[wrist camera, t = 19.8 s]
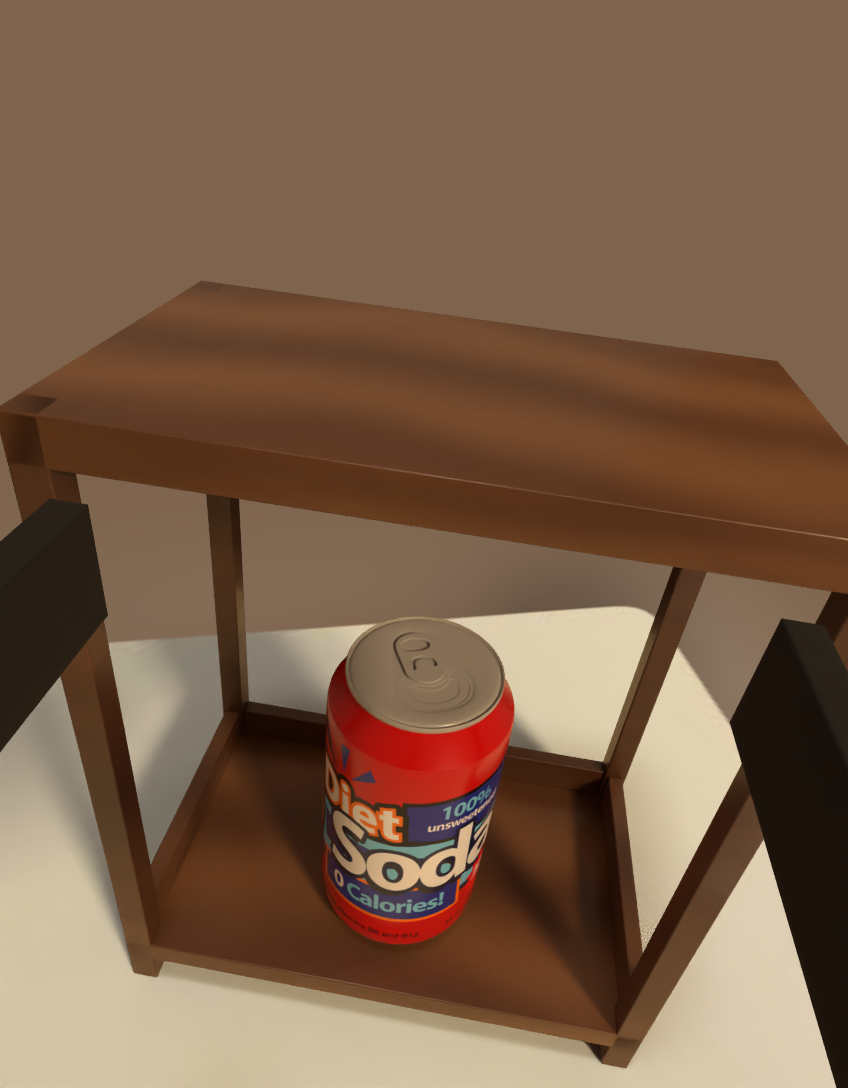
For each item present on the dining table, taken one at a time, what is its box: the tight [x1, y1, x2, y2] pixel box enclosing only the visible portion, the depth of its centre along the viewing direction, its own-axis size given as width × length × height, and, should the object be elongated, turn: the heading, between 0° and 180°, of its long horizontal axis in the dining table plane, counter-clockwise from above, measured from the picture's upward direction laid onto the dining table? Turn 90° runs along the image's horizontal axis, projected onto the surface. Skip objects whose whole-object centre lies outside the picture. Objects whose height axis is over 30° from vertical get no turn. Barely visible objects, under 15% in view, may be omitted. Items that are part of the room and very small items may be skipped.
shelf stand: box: [0, 281, 848, 1068], centre depth 32 cm, size 14×24×30 cm, turn 82°
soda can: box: [321, 616, 514, 944], centre depth 33 cm, size 8×8×15 cm
